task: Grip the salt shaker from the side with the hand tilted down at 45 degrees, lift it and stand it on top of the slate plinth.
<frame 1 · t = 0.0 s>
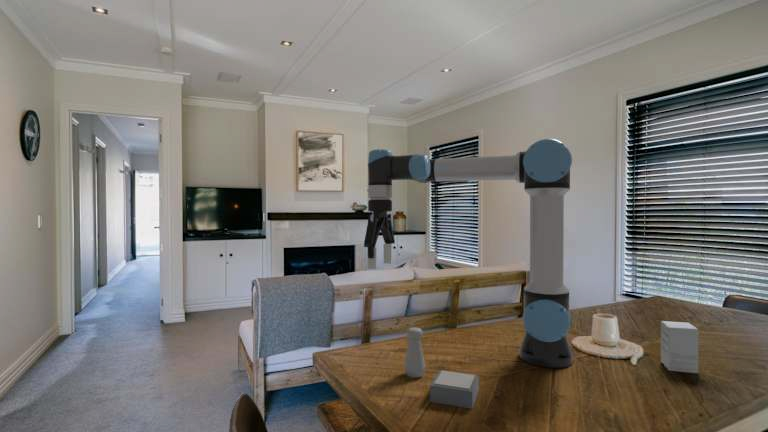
hand: (380, 266, 132), 28 cm above the table, tool pointing down, fingers open, 13 cm apart
slate plinth: (455, 396, 102), on the table
supplement box: (678, 368, 120), on the table
salt shaker: (414, 375, 115), on the table
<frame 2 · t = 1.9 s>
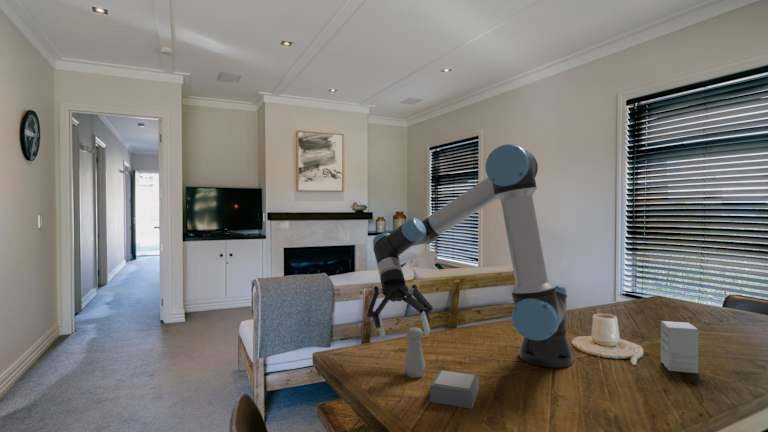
hand: (406, 335, 119), 10 cm above the table, tool tilted 45°, fingers open, 13 cm apart
nothing on the table moved.
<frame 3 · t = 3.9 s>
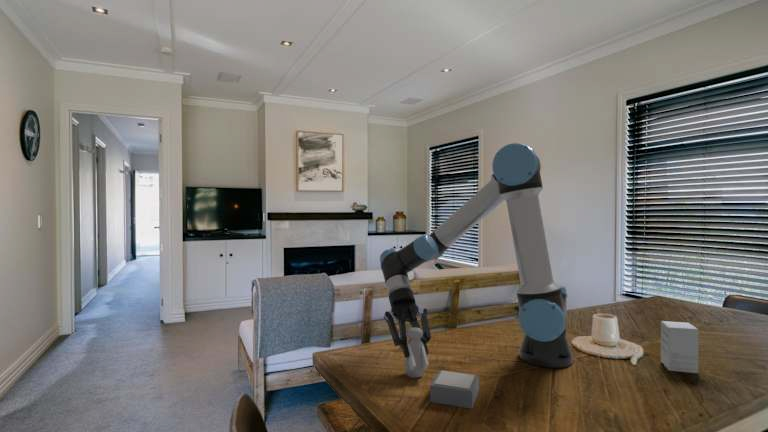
hand: (419, 367, 111), 4 cm above the table, tool tilted 45°, fingers closed on salt shaker, 3 cm apart
salt shaker: (414, 375, 115), on the table, touching gripper
everything else where it was.
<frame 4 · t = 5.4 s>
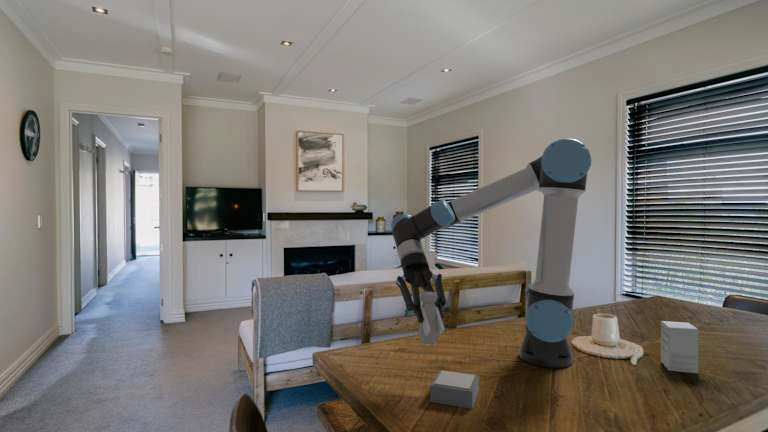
hand: (434, 332, 105), 15 cm above the table, tool tilted 45°, fingers closed on salt shaker, 3 cm apart
salt shaker: (429, 342, 109), point 11 cm above the table, touching gripper
everything else where it was.
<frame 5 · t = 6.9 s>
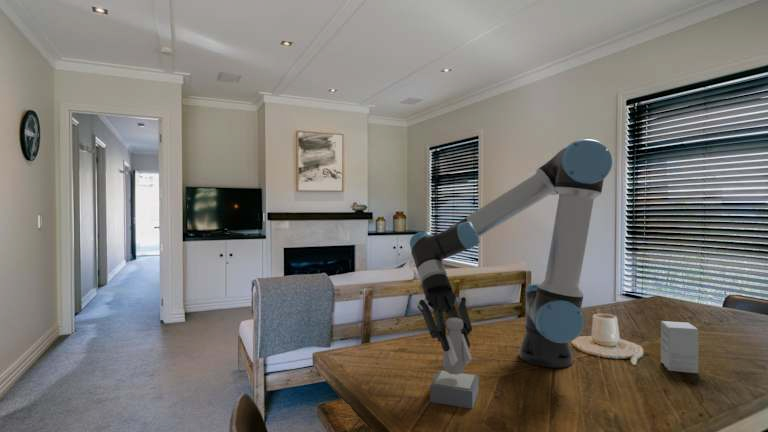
hand: (461, 362, 98), 10 cm above the table, tool tilted 45°, fingers closed on salt shaker, 3 cm apart
salt shaker: (454, 372, 102), point 6 cm above the table, touching gripper
everything else where it was.
when the fingers open (9 cm above the table, at t = 7.3 s): salt shaker stays where it is, resting on slate plinth.
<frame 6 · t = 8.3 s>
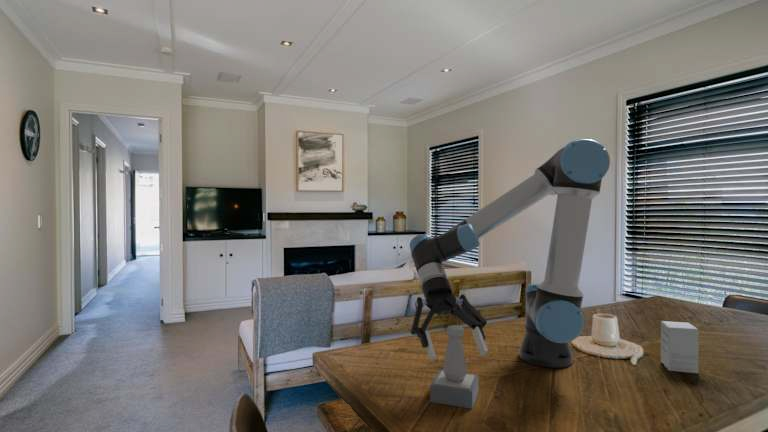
hand: (459, 356, 100), 11 cm above the table, tool tilted 45°, fingers open, 13 cm apart
salt shaker: (455, 379, 102), point 4 cm above the table, touching slate plinth
everything else where it was.
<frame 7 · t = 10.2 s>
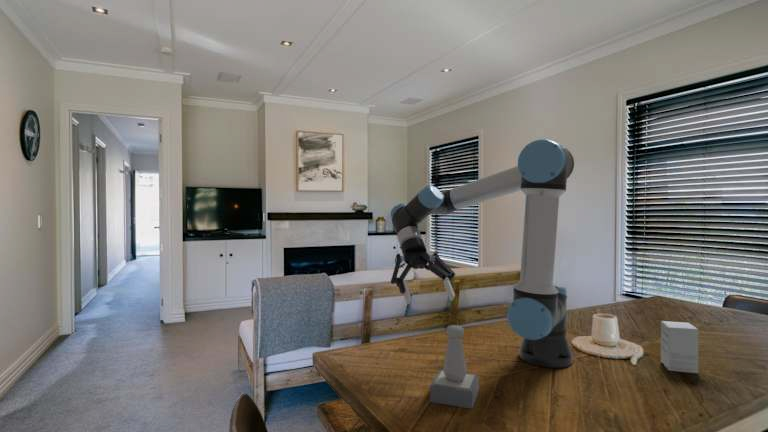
hand: (431, 300, 119), 20 cm above the table, tool tilted 45°, fingers open, 13 cm apart
nothing on the table moved.
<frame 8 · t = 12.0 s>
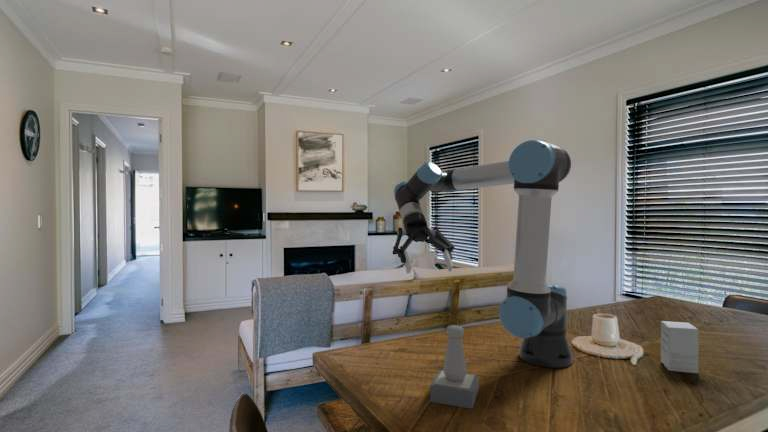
hand: (430, 269, 126), 28 cm above the table, tool tilted 45°, fingers open, 13 cm apart
nothing on the table moved.
at the end: salt shaker inside the target area on the slate plinth (0.1 cm from its centre), point 4.1 cm above the slate plinth's base; salt shaker tilted 0°; the gripper is holding nothing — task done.
